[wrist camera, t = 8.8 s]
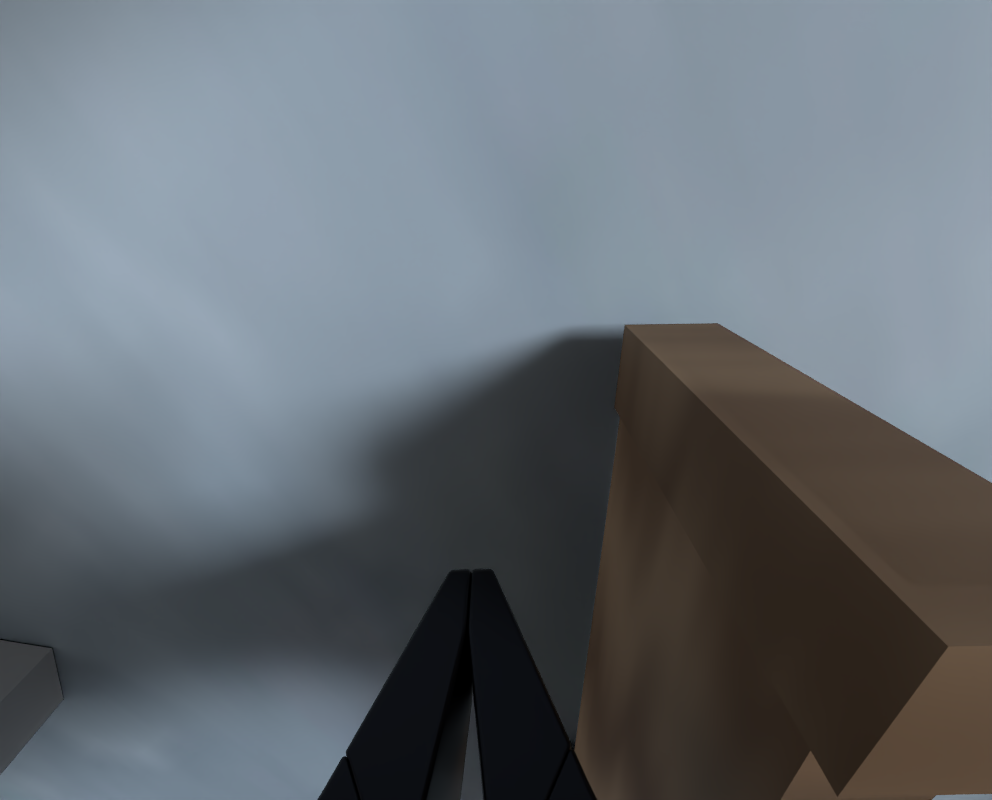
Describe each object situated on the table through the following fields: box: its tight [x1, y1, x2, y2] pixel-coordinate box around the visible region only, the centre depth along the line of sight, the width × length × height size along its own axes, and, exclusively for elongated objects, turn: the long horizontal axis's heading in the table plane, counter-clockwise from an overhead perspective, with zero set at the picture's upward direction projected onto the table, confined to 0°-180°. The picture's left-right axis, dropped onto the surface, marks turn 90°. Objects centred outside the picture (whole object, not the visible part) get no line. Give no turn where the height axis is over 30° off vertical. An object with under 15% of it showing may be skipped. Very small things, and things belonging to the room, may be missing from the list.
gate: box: [574, 323, 992, 800], centre depth 10 cm, size 20×3×8 cm, turn 1°
